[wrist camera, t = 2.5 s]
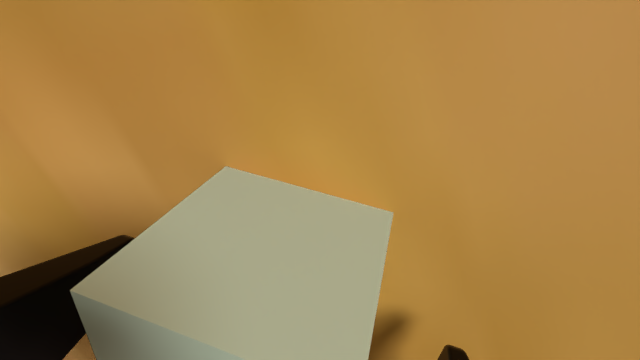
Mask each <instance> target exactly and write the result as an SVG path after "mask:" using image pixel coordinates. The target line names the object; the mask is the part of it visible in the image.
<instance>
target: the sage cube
mask: <svg viewBox="0 0 640 360" xmlns="http://www.w3.org/2000/svg"><path fill="white" fill-rule="evenodd" d="M392 218H393V212H390V211H386V210H383V209H379V208H375V207H372V206H368V205H364V204H361V203H357V202H354V201H350V200H346V199H343V198H339V197H335V196H332V195H328V194H324V193H321V192H317V191H314V190H310V189H306V188H303V187H299V186H295V185H292V184H288V183H285V182H281V181H277V180H274V179H270V178H266V177H263V176H259V175H256V174H252V173H248V172H245V171H241V170H237V169H234V168H230V167H224V168H223V169H222V170H220V171H219V172H218V173H217V174H215V175H214V176H213V177H212V178H210V179H209V180H208V181H207V182H205V183H204V184H203V185H202V186H200V187H199V188H198V189H197V190H195V191H194V192H193V193H192V194H190V195H189V196H188V197H187V198H185V199H184V200H183V201H181V202H180V203H179V204H178V205H176V206H175V207H174V208H173V209H171V210H170V211H169V212H168V213H166V214H165V215H164V216H163V217H161V218H160V219H159V220H158V221H156V222H155V223H154V224H153V225H151V226H150V227H149V228H148V229H146V230H145V231H144V232H143V233H141V234H140V235H139V236H137V237H136V238H135V239H134V240H132V241H131V242H130V243H129V244H127V245H126V246H125V247H124V248H122V249H121V250H120V251H119V252H117V253H116V254H115V255H114V256H112V257H111V258H110V259H109V260H107V261H106V262H105V263H104V264H102V265H101V266H100V267H99V268H97V269H96V270H95V271H93V272H92V273H91V274H90V275H88V276H87V277H86V278H85V279H83V280H82V281H81V282H80V283H78V284H77V285H76V286H75V287H73V288H72V289H71V290H70V292H71V295H72V297H73V300H74V303H75V305H76V308H77V310H78V313H79V316H80V318H81V321H82V323H83V326H84V329H85V331H86V334H87V336H88V339H89V341H90V344H91V347H92V349H93V352H94V354H95V357H96V360H368V357H369V351H370V345H371V340H372V334H373V328H374V322H375V316H376V311H377V305H378V299H379V293H380V287H381V281H382V276H383V270H384V264H385V258H386V252H387V247H388V241H389V235H390V229H391V223H392Z"/></svg>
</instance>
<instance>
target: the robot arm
mask: <svg viewBox="0 0 640 360" xmlns="http://www.w3.org/2000/svg"><path fill="white" fill-rule="evenodd" d="M134 239H135V238H133V237H130V236H127V235H121V236H118V237H115V238H112V239H109V240H106V241H103V242H100V243H97V244H94V245H92V246H89V247H86V248H83V249H80V250H77V251H74V252H71V253H68V254H66V255H63V256H60V257H57V258H54V259H51V260H48V261H45V262H43V263H40V264H37V265H34V266H31V267H28V268H25V269H22V270H19V271H17V272H14V273H11V274H8V275H5V276H2V277H0V360H62V359H63V358H64V357H65V356H66V355H67V354H68V353H69V352H70V350H71V349H72V348H73V347H74V346H75V345H76V344H77V343H78V341H79V340H80V339H81V338H82V337H83V336H84V335H85V334H86V331H85V329H84V326H83V323H82V321H81V318H80V316H79V313H78V310H77V308H76V305H75V303H74V300H73V297H72V295H71V292H70V290H71V289H72V288H73V287H75V286H76V285H77V284H78V283H80V282H81V281H82V280H83V279H85V278H86V277H87V276H88V275H90V274H91V273H92V272H93V271H95V270H96V269H97V268H99V267H100V266H101V265H102V264H104V263H105V262H106V261H107V260H109V259H110V258H111V257H112V256H114V255H115V254H116V253H117V252H119V251H120V250H121V249H122V248H124V247H125V246H126V245H127V244H129V243H130V242H131V241H132V240H134ZM438 360H469V358H468V356H467V354H466V353H465V351H464V350H462V349H460V348H457V347H454V346H451V345H446V346H445V347H444V349H443V351H442V352H441V354H440V356H439V358H438Z"/></svg>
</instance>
